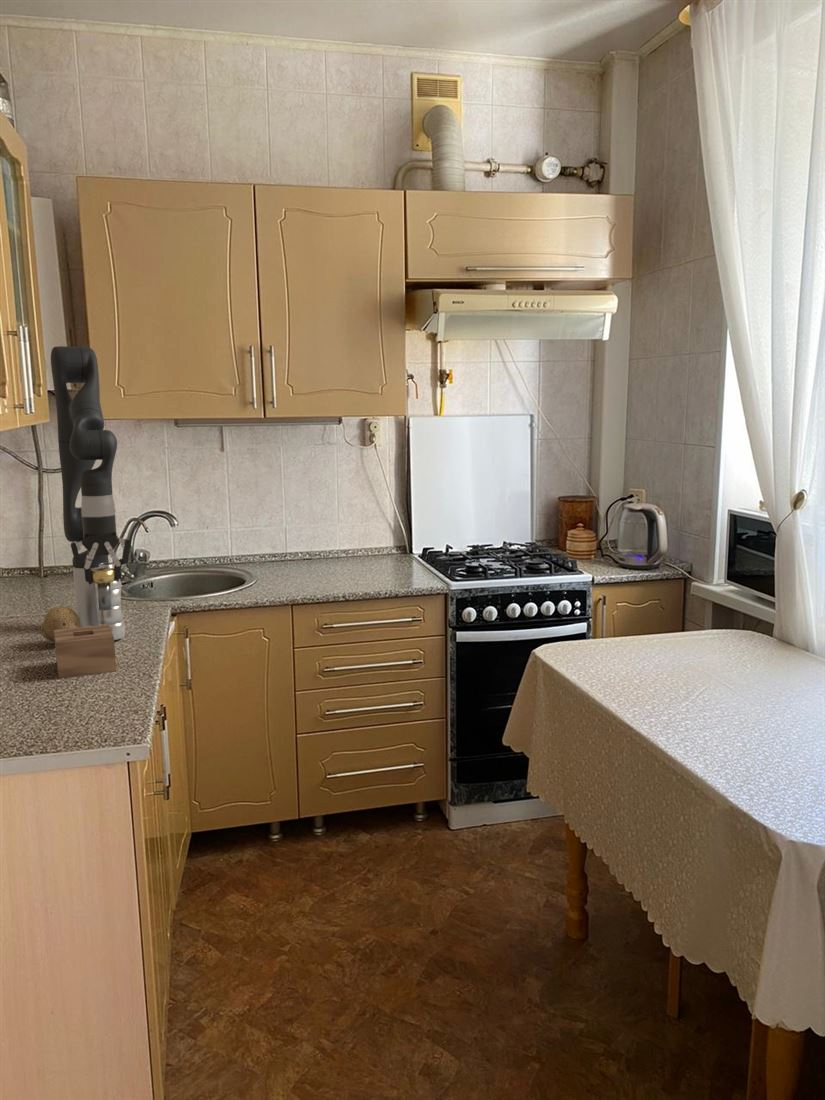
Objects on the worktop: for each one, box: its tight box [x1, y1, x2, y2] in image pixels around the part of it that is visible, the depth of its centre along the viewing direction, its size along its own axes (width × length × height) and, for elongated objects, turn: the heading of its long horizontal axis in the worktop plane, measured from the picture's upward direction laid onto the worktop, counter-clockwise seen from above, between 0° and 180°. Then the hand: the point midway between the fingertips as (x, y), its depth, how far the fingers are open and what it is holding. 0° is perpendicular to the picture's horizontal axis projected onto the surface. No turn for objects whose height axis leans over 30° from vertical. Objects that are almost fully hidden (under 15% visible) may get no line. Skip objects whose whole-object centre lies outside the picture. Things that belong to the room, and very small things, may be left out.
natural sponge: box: [40, 605, 80, 644], centre depth 211 cm, size 9×9×10 cm
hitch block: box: [54, 624, 117, 679], centre depth 191 cm, size 13×12×8 cm
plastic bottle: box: [95, 562, 126, 641], centre depth 214 cm, size 6×7×20 cm
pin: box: [91, 568, 116, 610], centre depth 204 cm, size 6×6×10 cm
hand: (103, 582), depth 204 cm, fingers closed on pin, 5 cm apart
